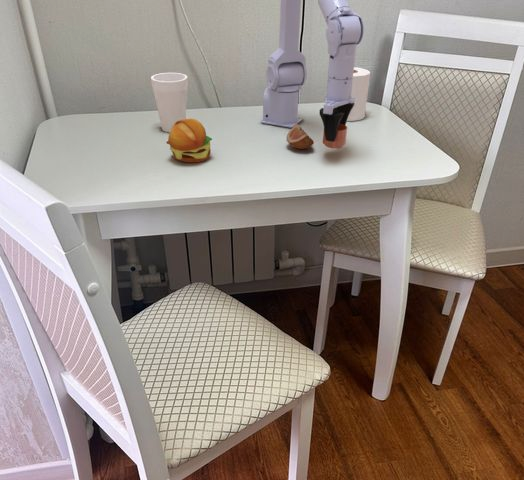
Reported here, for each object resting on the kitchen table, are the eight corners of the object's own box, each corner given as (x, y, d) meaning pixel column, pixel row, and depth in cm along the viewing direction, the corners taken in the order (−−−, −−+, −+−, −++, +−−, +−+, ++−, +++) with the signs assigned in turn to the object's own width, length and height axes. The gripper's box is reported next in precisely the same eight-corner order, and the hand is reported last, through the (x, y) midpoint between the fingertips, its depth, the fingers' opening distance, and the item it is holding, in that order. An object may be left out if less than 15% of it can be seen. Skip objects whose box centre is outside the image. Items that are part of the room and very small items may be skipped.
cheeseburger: (219, 151, 137) (215, 113, 129) (203, 176, 131) (197, 139, 123) (183, 145, 139) (176, 108, 131) (165, 169, 134) (157, 132, 126)
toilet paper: (322, 116, 160) (326, 71, 152) (341, 108, 166) (345, 64, 158) (352, 123, 155) (358, 77, 147) (370, 115, 162) (376, 70, 154)
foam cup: (197, 127, 151) (194, 76, 142) (176, 136, 145) (172, 84, 136) (171, 120, 155) (166, 70, 146) (149, 129, 149) (143, 78, 140)
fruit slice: (317, 153, 137) (319, 133, 134) (292, 155, 136) (293, 135, 133) (307, 141, 144) (308, 122, 140) (282, 143, 142) (283, 124, 139)
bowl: (319, 146, 134) (320, 128, 131) (326, 139, 138) (328, 121, 135) (340, 150, 132) (342, 132, 129) (348, 143, 136) (350, 125, 133)
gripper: (347, 86, 119) (340, 149, 127) (366, 71, 129) (358, 130, 138) (316, 82, 121) (312, 144, 130) (337, 68, 131) (332, 126, 140)
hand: (334, 136), depth 134 cm, fingers closed on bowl, 5 cm apart
